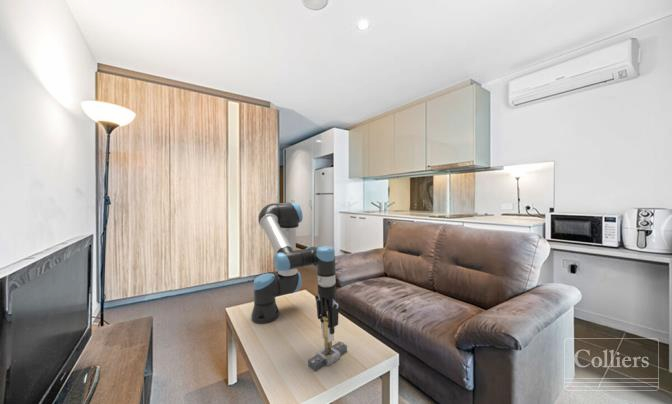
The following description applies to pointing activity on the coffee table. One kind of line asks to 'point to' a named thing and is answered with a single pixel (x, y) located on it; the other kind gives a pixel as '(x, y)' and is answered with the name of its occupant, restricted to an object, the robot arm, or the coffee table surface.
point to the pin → (326, 333)
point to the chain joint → (322, 360)
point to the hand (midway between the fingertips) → (328, 338)
